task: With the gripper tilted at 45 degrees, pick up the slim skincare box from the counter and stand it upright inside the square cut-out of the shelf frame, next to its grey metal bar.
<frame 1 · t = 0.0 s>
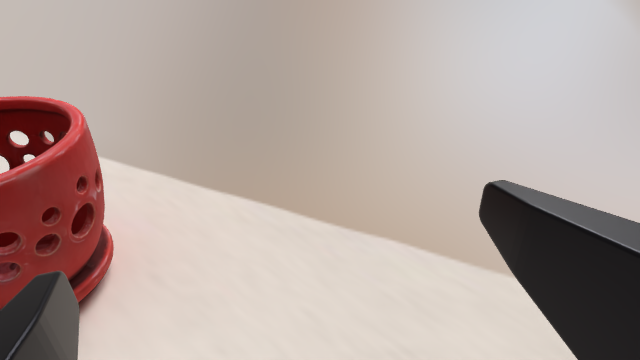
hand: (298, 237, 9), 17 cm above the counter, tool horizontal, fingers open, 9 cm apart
plant pot: (36, 287, 31), on the counter
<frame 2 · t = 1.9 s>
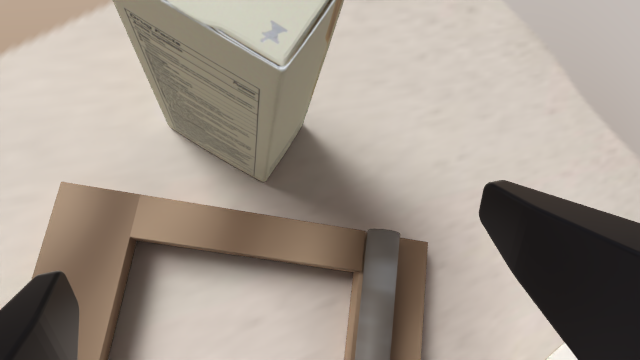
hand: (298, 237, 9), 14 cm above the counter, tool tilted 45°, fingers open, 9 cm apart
skincare box: (234, 124, 24), on the counter
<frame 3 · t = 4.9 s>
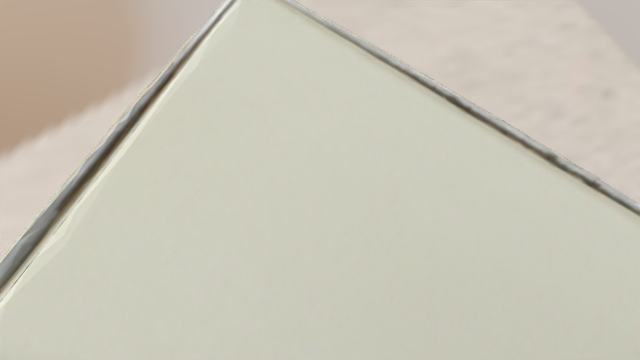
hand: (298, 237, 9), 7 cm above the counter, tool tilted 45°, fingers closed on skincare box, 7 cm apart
skincare box: (281, 299, 15), on the counter, touching gripper
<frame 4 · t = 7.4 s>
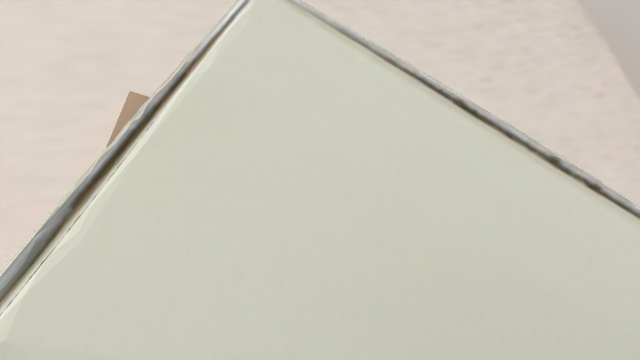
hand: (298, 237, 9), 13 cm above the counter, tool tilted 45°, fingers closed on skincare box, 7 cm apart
skincare box: (277, 299, 15), point 6 cm above the counter, touching gripper
shelf frame: (264, 295, 22), on the counter
when the fingers open (8 cm above the counter, at t = 9.7 s): skincare box drops 1 cm, resting in shelf frame.
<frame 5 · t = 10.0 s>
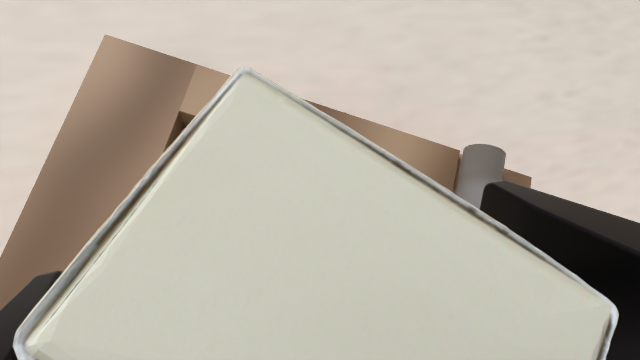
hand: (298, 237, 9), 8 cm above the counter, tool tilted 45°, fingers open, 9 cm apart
skincare box: (273, 304, 17), resting in shelf frame
shelf frame: (277, 298, 17), on the counter
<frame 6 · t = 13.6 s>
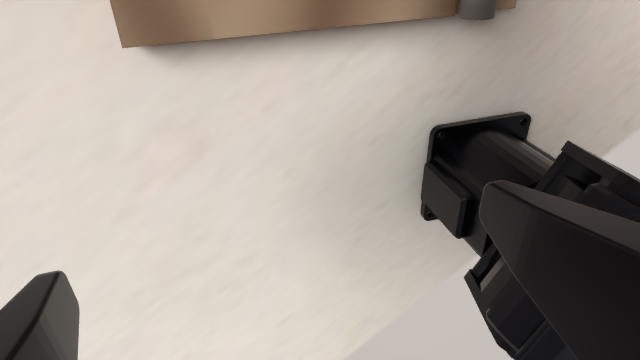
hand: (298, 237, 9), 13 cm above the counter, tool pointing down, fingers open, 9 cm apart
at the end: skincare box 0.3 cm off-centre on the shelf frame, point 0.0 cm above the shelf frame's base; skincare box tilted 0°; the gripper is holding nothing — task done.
